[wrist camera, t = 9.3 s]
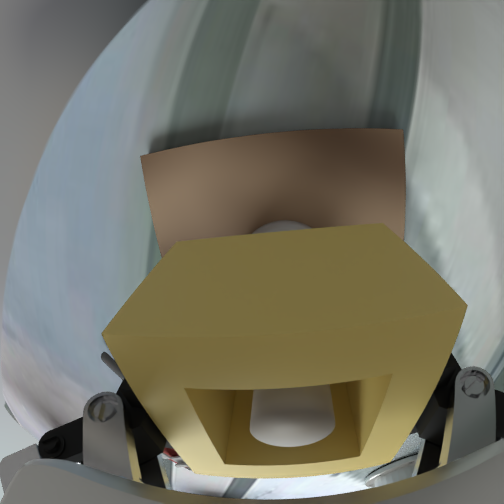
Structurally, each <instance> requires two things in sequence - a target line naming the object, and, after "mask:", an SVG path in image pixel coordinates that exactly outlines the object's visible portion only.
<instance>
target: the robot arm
mask: <svg viewBox="0 0 504 504" xmlns="http://www.w3.org/2000/svg"><path fill="white" fill-rule="evenodd" d="M416 432H418V434H419V437H421V438H422V439H421V443H420V448H419V452H418V454H417V455H413V456H410V457H407V458H404V459H401V460H399V461H396V462H394V463H391V464H389V465H387V466H384V467H382V468H380V469H378V470H376V471H375V472H373V473H371V474H370V475H369V476H368V477H367V478H366V479H365V485H366V486H367V487H374V488H370V489H365V490H360V491H355V492H350V493H344V494H337V495H330V496H322V497H312V498H300V499H278V500H257V499H235V498H222V497H213V496H204V495H197V494H191V493H185V492H179V491H174V490H171V487H170V483H169V480H168V477H167V473H166V470H165V466H164V462H163V459H162V455H161V453H163V452H164V448H171V449H174V448H173V447H172V446H171V445H170V443H169V442H168V441H167V439H166V438H165V437H164V435H163V434H162V433H161V431H160V430H159V429H158V427H157V426H156V425H155V423H154V422H153V420H152V419H151V418H150V416H149V415H148V413H147V412H146V410H145V409H144V407H143V406H142V404H141V403H140V401H139V400H138V398H137V397H136V395H135V393H134V392H133V390H132V389H131V387H130V385H129V384H128V382H127V380H126V379H125V378H124V380H123V382H122V384H121V385H120V387H119V389H118V391H117V393H116V394H115V393H112V392H101V393H98V394H96V395H94V396H93V397H91V398H90V399H89V400H88V401H87V403H86V405H85V407H84V411H83V417H81V418H79V419H77V420H74V421H72V422H70V423H67V424H65V425H63V426H60V427H58V428H55V429H53V430H50V431H48V432H47V433H45V434H44V435H43V436H42V437H41V439H40V441H39V445H37V444H33V445H31V446H29V447H27V448H25V449H22V450H20V451H18V452H16V453H13V454H11V455H9V456H7V457H5V458H3V459H2V461H1V463H0V478H1V482H2V487H3V490H4V496H3V498H2V500H1V503H0V504H504V393H503V392H500V391H498V390H495V389H494V382H493V379H492V377H491V375H490V374H489V373H488V372H487V371H486V370H484V369H482V368H480V367H475V366H473V367H467V368H464V369H461V368H460V366H459V364H458V363H457V361H456V359H455V358H454V356H453V354H452V353H451V354H450V357H449V359H448V361H447V364H446V366H445V368H444V371H443V373H442V375H441V377H440V379H439V381H438V383H437V385H436V388H435V390H434V392H433V394H432V395H431V397H430V399H429V401H428V403H427V405H426V407H425V409H424V410H423V412H422V414H421V416H420V417H419V419H418V421H417V422H416V424H415V426H414V427H413V429H412V431H411V432H410V434H413V433H416ZM410 434H409V435H410Z"/></svg>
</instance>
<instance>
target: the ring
mask: <svg viewBox="0 0 504 504" xmlns="http://www.w3.org/2000/svg"><path fill="white" fill-rule="evenodd" d="M467 306H468V305H467V304H466V303H465V302H464V301H463V300H462V299H461V297H460V296H459V295H458V294H457V293H456V292H455V291H454V290H453V289H452V288H451V287H450V286H449V285H448V284H447V283H446V282H445V280H444V279H443V278H442V277H441V276H440V275H439V274H438V273H437V272H436V271H435V270H434V269H433V268H432V267H431V266H430V265H429V264H427V263H426V262H425V261H424V260H423V259H422V258H421V257H420V256H419V255H418V254H417V253H416V252H415V251H414V250H413V249H412V248H411V247H409V246H408V245H407V244H406V243H405V242H404V241H403V240H402V239H401V238H400V237H398V236H397V235H396V234H395V233H394V232H393V231H392V230H390V229H389V228H388V227H387V226H386V225H385V224H383V223H376V224H363V225H350V226H337V227H325V228H313V229H301V230H290V231H279V232H268V233H257V234H247V235H236V236H226V237H216V238H207V239H197V240H188V241H179V242H176V243H175V244H174V245H173V246H172V247H171V249H170V250H169V251H168V252H167V253H166V254H165V256H164V257H163V258H162V259H161V260H160V261H159V263H158V264H157V265H156V266H155V267H154V268H153V270H152V271H151V272H150V273H149V274H148V276H147V277H146V278H145V279H144V280H143V282H142V283H141V284H140V285H139V286H138V288H137V289H136V290H135V291H134V293H133V294H132V295H131V296H130V298H129V299H128V300H127V301H126V303H125V304H124V305H123V306H122V308H121V309H120V310H119V311H118V313H117V314H116V315H115V317H114V318H113V319H112V320H111V322H110V323H109V324H108V326H107V327H106V328H105V330H104V331H103V332H102V336H103V338H104V340H105V342H106V344H107V346H108V348H109V350H110V352H111V354H112V356H113V357H114V359H115V361H116V363H117V365H118V366H119V368H120V370H121V372H122V374H123V375H124V377H125V379H126V380H127V382H128V384H129V385H130V387H131V389H132V390H133V392H134V393H135V395H136V397H137V398H138V400H139V401H140V403H141V404H142V406H143V407H144V409H145V410H146V412H147V413H148V415H149V416H150V418H151V419H152V420H153V422H154V423H155V425H156V426H157V427H158V429H159V430H160V431H161V433H162V434H163V435H164V437H165V438H166V439H167V441H168V442H169V443H170V445H171V446H172V447H173V448H174V450H175V451H176V452H177V453H178V454H179V456H180V457H181V458H182V459H183V460H184V462H185V463H186V464H187V465H188V466H189V467H190V469H191V470H192V471H193V472H194V473H195V474H202V475H211V476H222V477H236V478H292V477H307V476H317V475H326V474H334V473H340V472H347V471H352V470H358V469H363V468H368V467H372V466H377V465H381V464H385V463H389V462H391V460H392V459H393V457H394V456H395V455H396V453H397V452H398V450H399V449H400V447H401V446H402V445H403V443H404V442H405V440H406V438H407V437H408V435H409V434H410V432H411V431H412V429H413V427H414V426H415V424H416V422H417V421H418V419H419V417H420V416H421V414H422V412H423V410H424V409H425V407H426V405H427V403H428V401H429V399H430V397H431V395H432V394H433V392H434V390H435V388H436V385H437V383H438V381H439V379H440V377H441V375H442V373H443V371H444V368H445V366H446V364H447V361H448V359H449V357H450V354H451V352H452V349H453V347H454V344H455V342H456V339H457V336H458V333H459V331H460V328H461V325H462V322H463V319H464V316H465V312H466V309H467ZM326 384H329V385H330V391H331V397H332V403H333V410H334V417H335V428H334V430H333V431H332V432H331V433H330V434H329V435H328V436H327V437H325V438H323V439H322V440H320V441H317V442H315V443H312V444H308V445H303V446H296V447H281V446H273V445H269V444H266V443H263V442H261V441H259V440H257V439H256V438H255V437H254V436H253V435H252V434H251V432H250V420H251V410H252V400H253V390H254V389H279V388H294V387H306V386H317V385H326Z"/></svg>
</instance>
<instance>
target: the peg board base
mask: <svg viewBox="0 0 504 504" xmlns="http://www.w3.org/2000/svg"><path fill="white" fill-rule="evenodd" d="M140 157H141V163H142V169H143V175H144V180H145V185H146V191H147V196H148V201H149V205H150V210H151V215H152V219H153V224H154V228H155V232H156V236H157V241H158V245H159V249H160V253H161V256H162V258H163V257H164V256H165V254H166V253H167V252H168V251H169V250H170V249H171V247H172V246H173V245H174V244H175V243H176V242H179V241H188V240H197V239H207V238H216V237H226V236H236V235H247V234H257V233H268V232H279V231H290V230H301V229H313V228H325V227H337V226H350V225H363V224H376V223H383V224H385V225H386V226H387V227H388V228H389V229H390V230H392V231H393V232H394V233H395V234H396V235H397V236H398V237H400V238H401V239H402V240H403V241H404V228H405V200H406V178H405V150H404V135H403V130H402V129H374V128H344V129H315V130H299V131H286V132H275V133H265V134H257V135H248V136H241V137H234V138H227V139H221V140H214V141H208V142H203V143H197V144H192V145H187V146H182V147H177V148H172V149H168V150H163V151H159V152H155V153H151V154H146V155H142V156H140ZM334 428H335V417H334V410H333V403H332V397H331V391H330V385H329V384H326V385H317V386H306V387H294V388H279V389H254V390H253V400H252V410H251V420H250V432H251V434H252V435H253V436H254V437H255V438H256V439H257V440H259V441H261V442H263V443H266V444H269V445H273V446H281V447H296V446H303V445H308V444H312V443H315V442H317V441H320V440H322V439H323V438H325V437H327V436H328V435H329V434H330V433H331V432H332V431H333V430H334Z"/></svg>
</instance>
